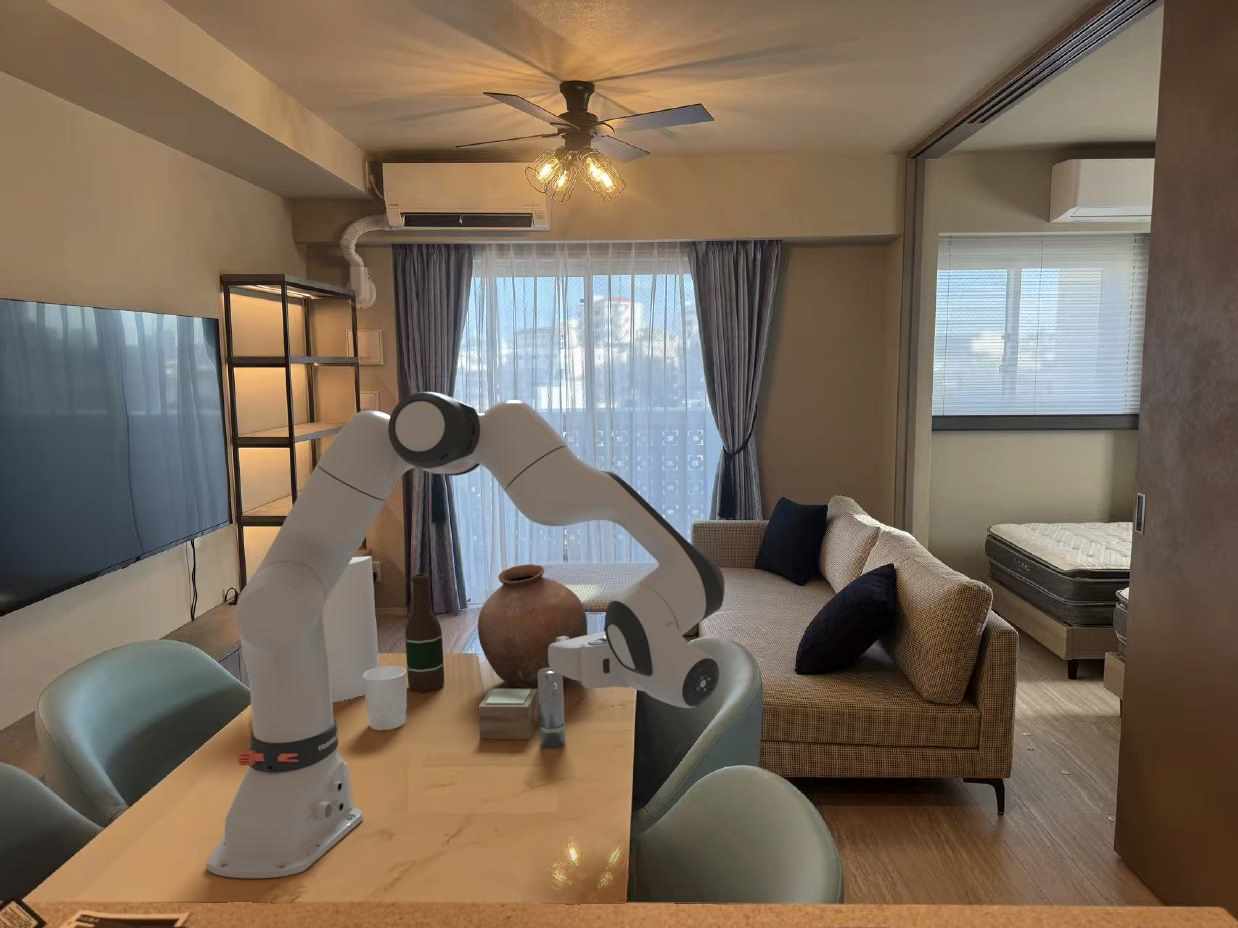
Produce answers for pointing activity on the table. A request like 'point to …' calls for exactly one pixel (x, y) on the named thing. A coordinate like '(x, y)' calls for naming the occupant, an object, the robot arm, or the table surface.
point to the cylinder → (351, 630)
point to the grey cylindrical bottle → (551, 708)
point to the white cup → (386, 697)
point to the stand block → (508, 714)
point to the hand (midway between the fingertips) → (584, 635)
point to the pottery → (527, 623)
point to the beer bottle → (423, 641)
